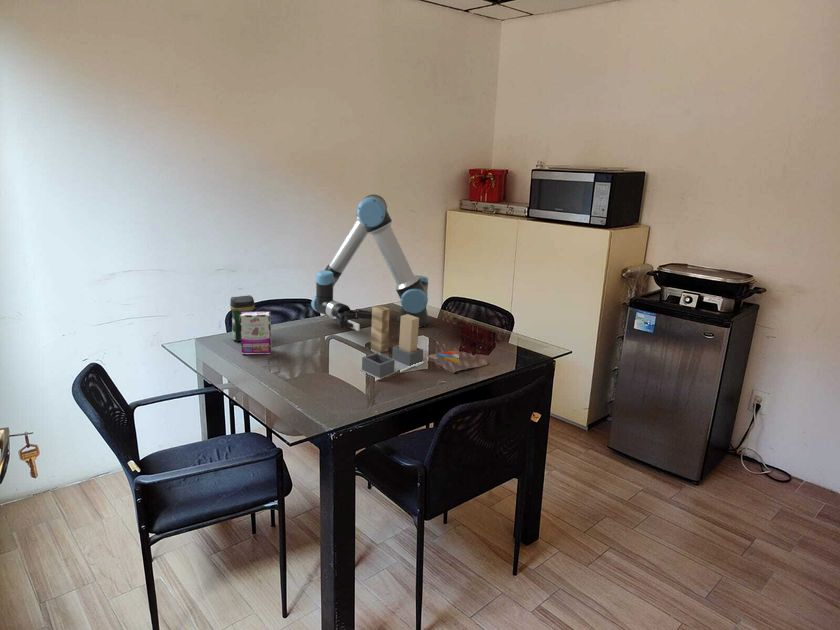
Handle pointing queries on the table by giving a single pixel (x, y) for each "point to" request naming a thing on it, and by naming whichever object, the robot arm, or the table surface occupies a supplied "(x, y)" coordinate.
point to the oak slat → (380, 328)
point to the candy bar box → (255, 332)
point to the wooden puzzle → (446, 356)
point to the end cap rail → (396, 351)
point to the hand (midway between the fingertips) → (371, 324)
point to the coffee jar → (237, 307)
